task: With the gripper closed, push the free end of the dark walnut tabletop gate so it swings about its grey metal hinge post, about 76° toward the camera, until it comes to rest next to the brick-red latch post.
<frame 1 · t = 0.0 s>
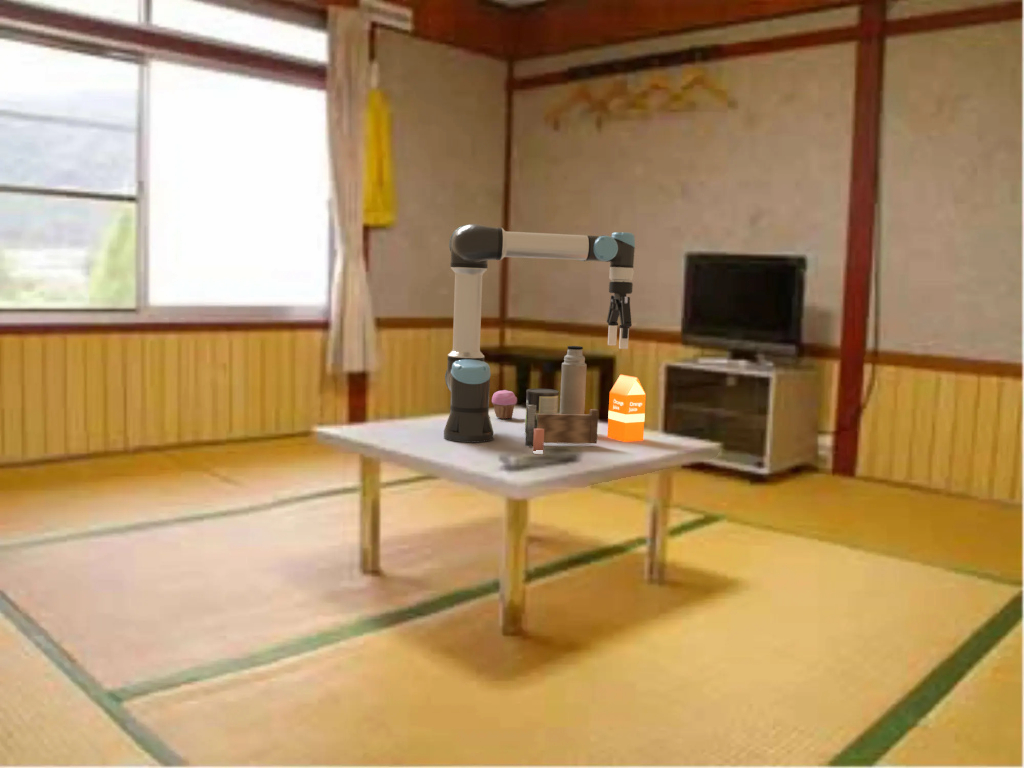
hand: (617, 347, 304), 28 cm above the table, tool pointing down, fingers open, 13 cm apart
cupcake: (503, 418, 328), on the table
latch post: (538, 453, 266), on the table
hinge post: (530, 445, 279), on the table
thermos bottle: (571, 432, 305), on the table
gate: (567, 425, 280), point 6 cm above the table, hinge at 0.0°
coffee can: (540, 435, 298), on the table
orange juice: (625, 439, 297), on the table
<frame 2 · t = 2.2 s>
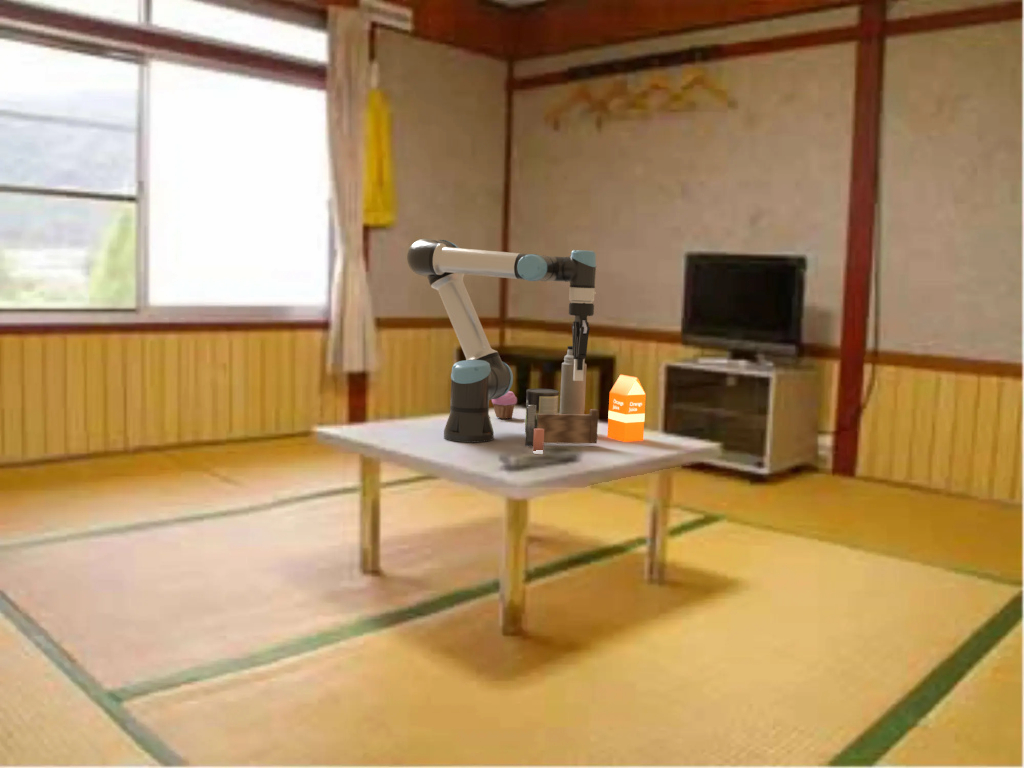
hand: (578, 380, 284), 19 cm above the table, tool pointing down, fingers closed
nothing on the table moved.
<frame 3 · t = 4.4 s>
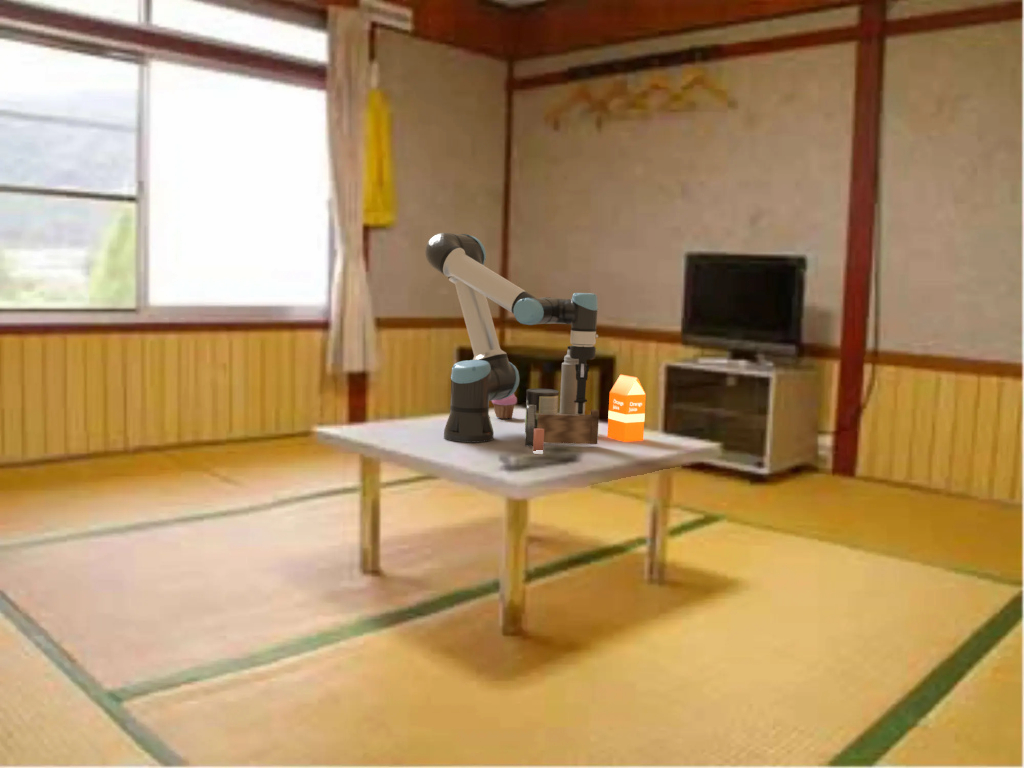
hand: (579, 423, 281), 6 cm above the table, tool pointing down, fingers closed
gate: (567, 426, 279), point 6 cm above the table, hinge at 3.5°, touching gripper
everything else where it was.
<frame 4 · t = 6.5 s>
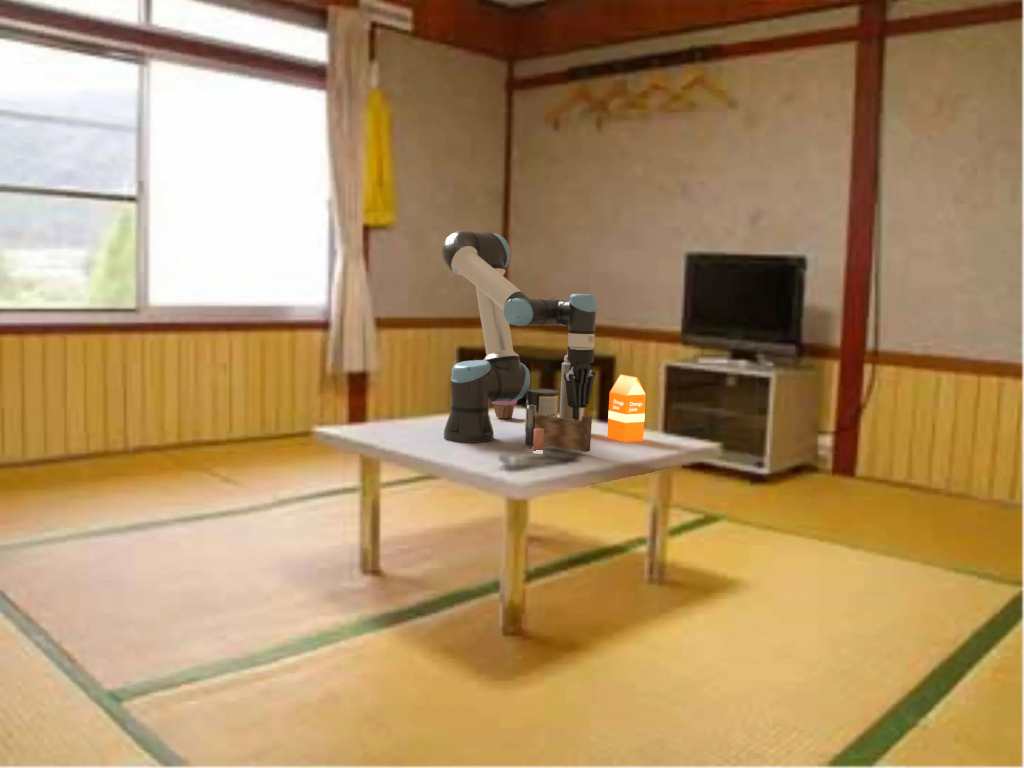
hand: (577, 429, 271), 6 cm above the table, tool pointing down, fingers closed
gate: (562, 430, 271), point 6 cm above the table, hinge at 45.0°, touching gripper
everything else where it was.
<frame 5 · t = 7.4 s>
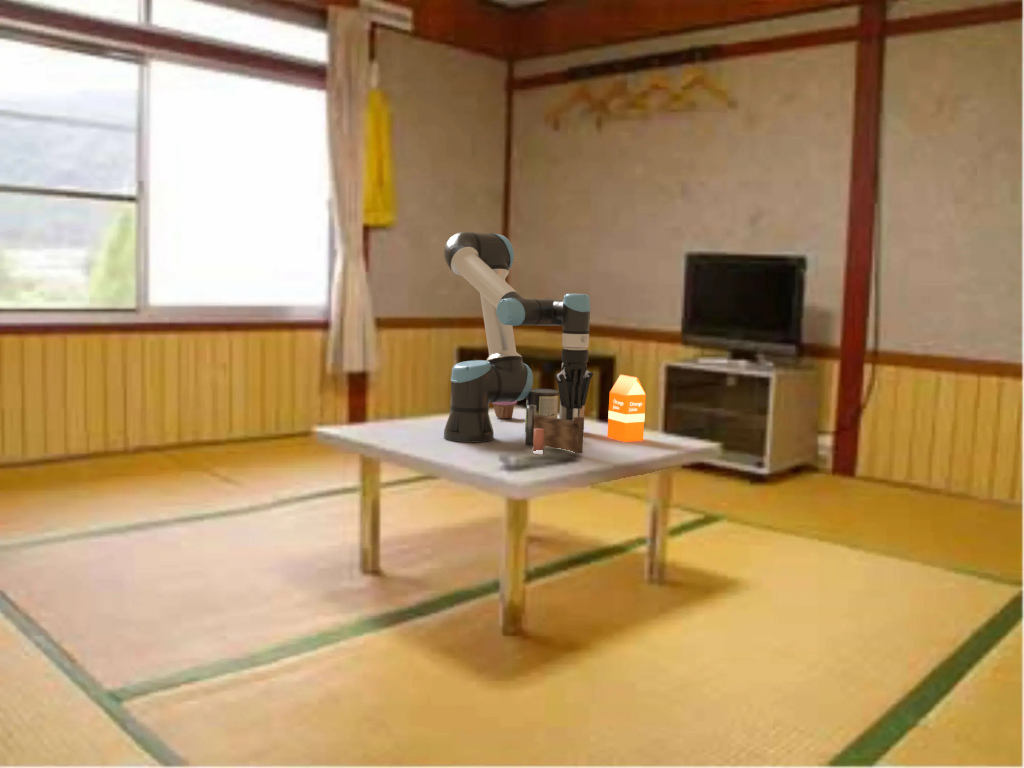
hand: (572, 430, 268), 6 cm above the table, tool pointing down, fingers closed
gate: (557, 430, 270), point 6 cm above the table, hinge at 56.2°, touching gripper
everything else where it was.
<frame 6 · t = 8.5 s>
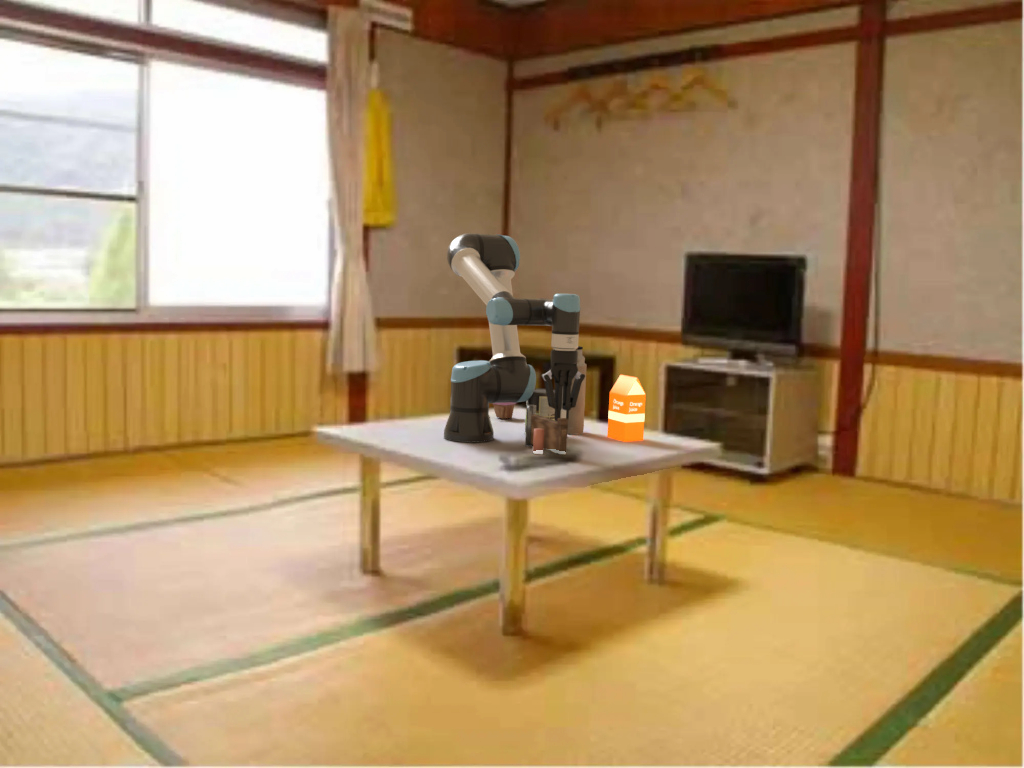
hand: (560, 432, 265), 6 cm above the table, tool pointing down, fingers closed
gate: (548, 431, 268), point 6 cm above the table, hinge at 73.5°, touching gripper
everything else where it was.
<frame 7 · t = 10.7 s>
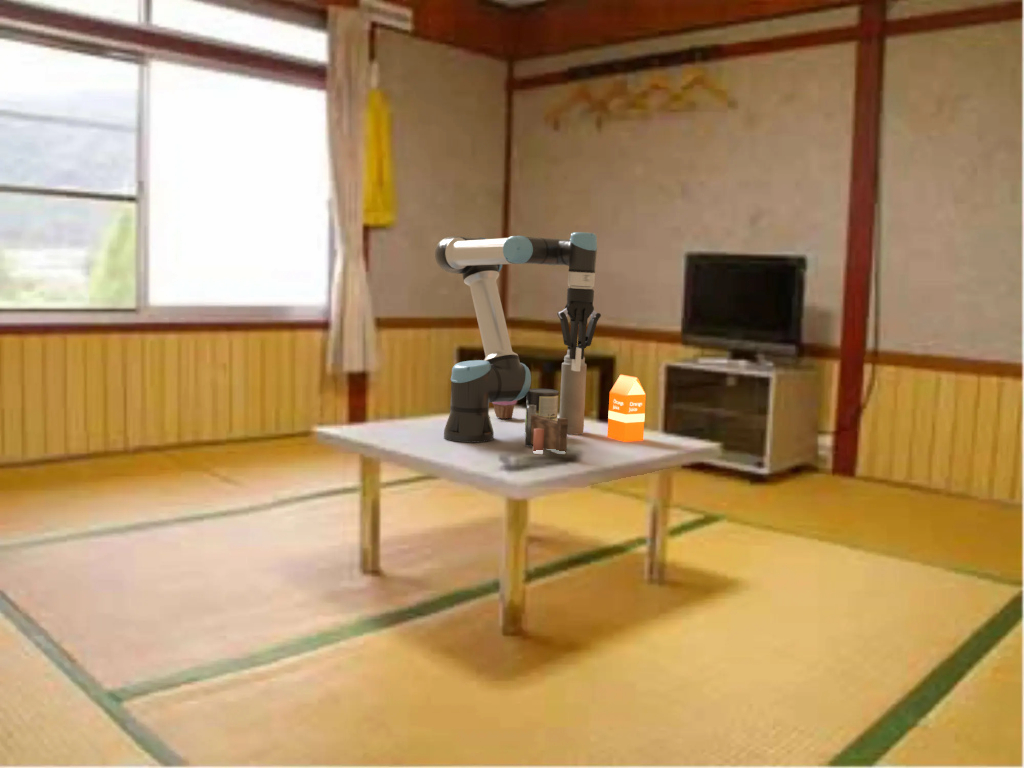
hand: (575, 370, 268), 24 cm above the table, tool pointing down, fingers closed
gate: (548, 431, 268), point 6 cm above the table, hinge at 73.6°
everything else where it was.
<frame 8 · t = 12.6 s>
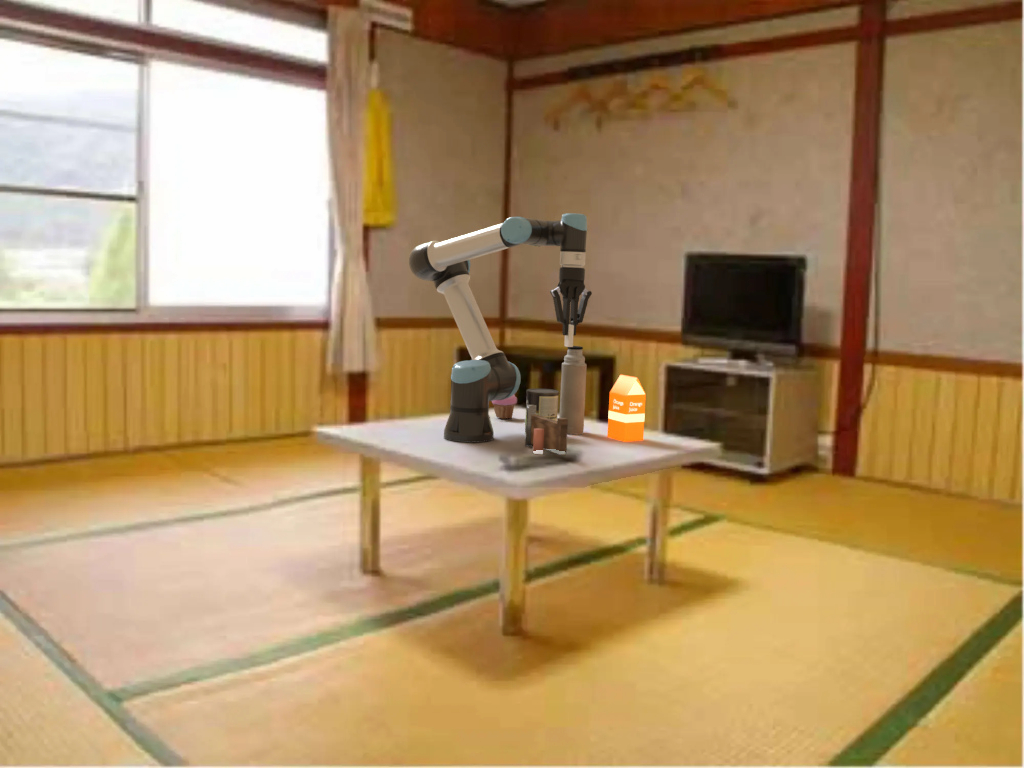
hand: (568, 346, 280), 29 cm above the table, tool pointing down, fingers closed
nothing on the table moved.
at the end: gate at +74° (first picture: +0°); coffee can moved 0.2 cm from its start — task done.
